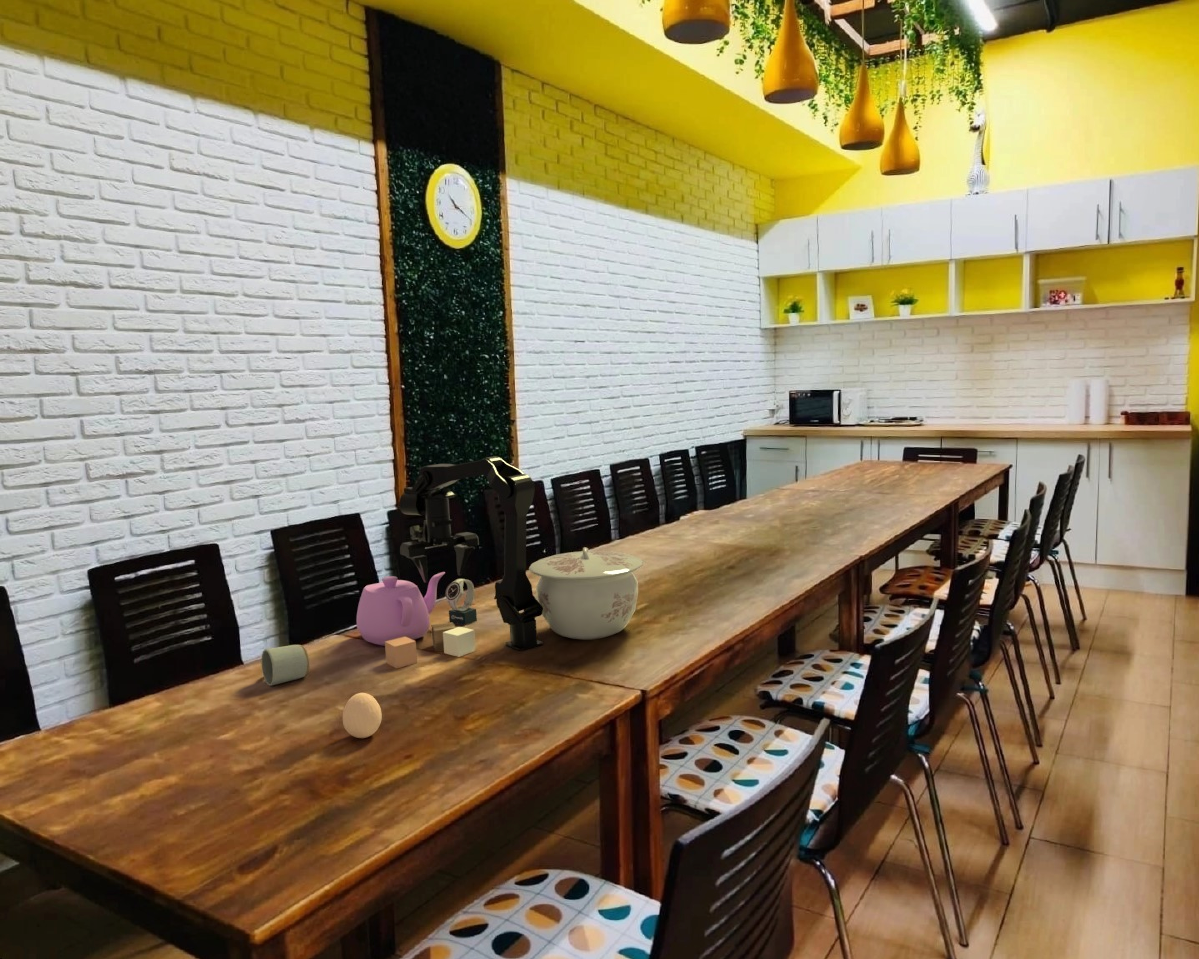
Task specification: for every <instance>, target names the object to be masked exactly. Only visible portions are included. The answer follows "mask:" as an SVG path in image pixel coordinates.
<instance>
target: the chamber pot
mask: <svg viewBox="0 0 1199 959" xmlns="http://www.w3.org/2000/svg"><path fill="white" fill-rule="evenodd" d="M643 566H644V561H643V559H642V558H640V557H638V556H636V555H632V554H628V553H624V552H619V551H611V550H607V551H606V550H605V551H604V550H589V548H588V547H585V546H584V547H582V550H581V551H573V552H572V551H571V552H564V553H558V554H554V555H551V556H550V555H549V556H547V557H544V558H540V559H538V560H537V561H534V562H532V563H531V564H530V566H529V568H528V570H529V571H530V572H531V574H533V575H535V576H538V577H539V578H540V579H539V581H538V582H537V584H536V587H535V593H536V595H535V596H536V599H537V601H538V602H539V603H540V604H541V606H542V607H543V611H542V615H541V616H542V617H543V618H544V620H545V621H546V623H547V624H548V626H549V627H550V628H551V630H552V631H553V632H554V633H555V634H556V635H558V636H561V637H565V638H569V639H573V640H580V641H581V640H582V641H587V640H590V641H591V640H598V639H599V640H600V639H603V638H608V637H610V636H613V635H615V634H618V633H620V632H621V631H622V630H623V631H624V629H625V628H626V627H627V626H628V624H629V622H630V621H631V619H632V617H633V615H634V613H635V611H636V609H637V608H636V607H637V602H638V596H639V581H638V579H637V577H636V576H635V574H634V572H636V571H637V570H639V569H640V568H642V567H643Z"/></svg>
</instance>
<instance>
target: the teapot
mask: <svg viewBox="0 0 1199 959" xmlns="http://www.w3.org/2000/svg"><path fill="white" fill-rule="evenodd" d="M445 574H446V572H445V571H442V572H438V573H437V574H434V575H433V576H432V577H431V578H430V579H429V582H428V585H427V591H426V594H425V595H424V597H423V594H422V593H421V591H420V589H419V587H418V585H416V584H415V583H414V582H411V581H409V580H403V579H398V577H397V576H395V575H394V576H392V575H391V576H384V577H383V578H381V581H382V582H378V583H377V582H376V583H372V584H367V585H366V586H365V587H363V589H362V592H361V595H360V597H359V602H358V606H357V612H356V629H357V631H358V633H359V634H360V636H361V637H362V639H364V641H366V642H368V643H371V644H374V645H378V646H382V647H385V641H389V640H393V639H397V638H401V637H408V638H410V639H412V640H414V641H415V640H417V639H419V638H422V637H424V636H426V634H427V632H428V631H429V628H430V625H431V622H430V614H431V613H432V611H433V610H434V609H435V606H436V603H437V589H438V583H439V581H440V580H441V578H442V577H443V576H444V575H445Z"/></svg>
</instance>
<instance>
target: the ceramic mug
mask: <svg viewBox="0 0 1199 959" xmlns="http://www.w3.org/2000/svg"><path fill="white" fill-rule="evenodd" d="M261 653H262V654H261V660H260V661H261V670H262V671H261V672H262V675H263V679H264V682H265V683H266V684H267V686H270V687H271V686H276V685H279V684H283V683H287V682H290V681H295V680H299V679H301V678H304V677H306V676H307V675H308V673H309V671H310V657H309V654H308V651H307V649H306V648H305V646H304V645H301V644H289V645H285V646H278V647H270V648H265V649H264V650H263V651H262V652H261Z"/></svg>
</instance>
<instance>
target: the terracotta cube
mask: <svg viewBox="0 0 1199 959" xmlns="http://www.w3.org/2000/svg"><path fill="white" fill-rule="evenodd" d="M384 649H385V662H386V664H388V665H390V666H391V667H393V668H395V669H400V668H403V667H407V666H410V665H414V664H417V663H418V658H417V657H418V656H417V655H418V654H417V643H416V640H415V639H414V640H412V639H410V638H408V637H401V638H397V639H393V640H389V641H385V646H384Z"/></svg>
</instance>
